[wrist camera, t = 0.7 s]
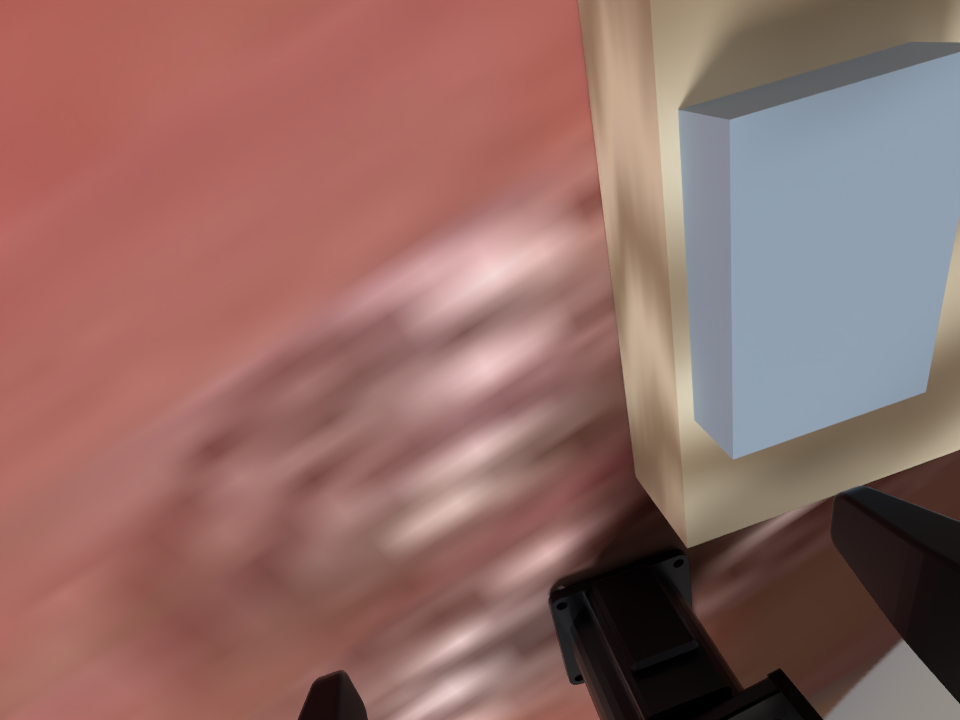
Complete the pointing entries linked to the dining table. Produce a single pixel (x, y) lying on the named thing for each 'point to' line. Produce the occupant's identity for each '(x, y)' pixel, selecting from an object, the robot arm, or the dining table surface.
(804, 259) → the block
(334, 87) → the dining table surface
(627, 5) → the beige flat block
